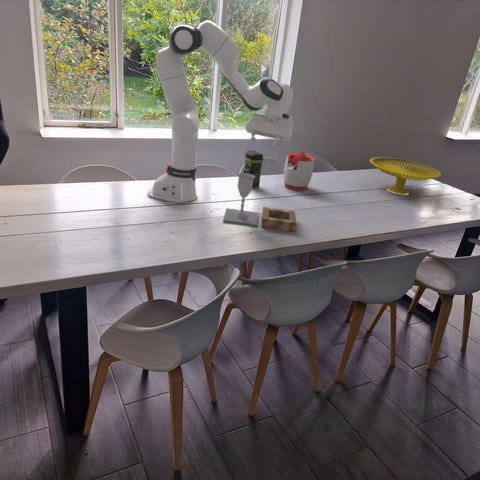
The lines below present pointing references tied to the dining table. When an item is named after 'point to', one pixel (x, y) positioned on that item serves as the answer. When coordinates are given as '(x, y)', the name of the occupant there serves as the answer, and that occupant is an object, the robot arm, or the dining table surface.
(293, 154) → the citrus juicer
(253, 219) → the grey mat
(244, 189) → the chalice
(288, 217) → the walnut holder
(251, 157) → the coffee jar
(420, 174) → the cake stand
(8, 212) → the dining table surface
